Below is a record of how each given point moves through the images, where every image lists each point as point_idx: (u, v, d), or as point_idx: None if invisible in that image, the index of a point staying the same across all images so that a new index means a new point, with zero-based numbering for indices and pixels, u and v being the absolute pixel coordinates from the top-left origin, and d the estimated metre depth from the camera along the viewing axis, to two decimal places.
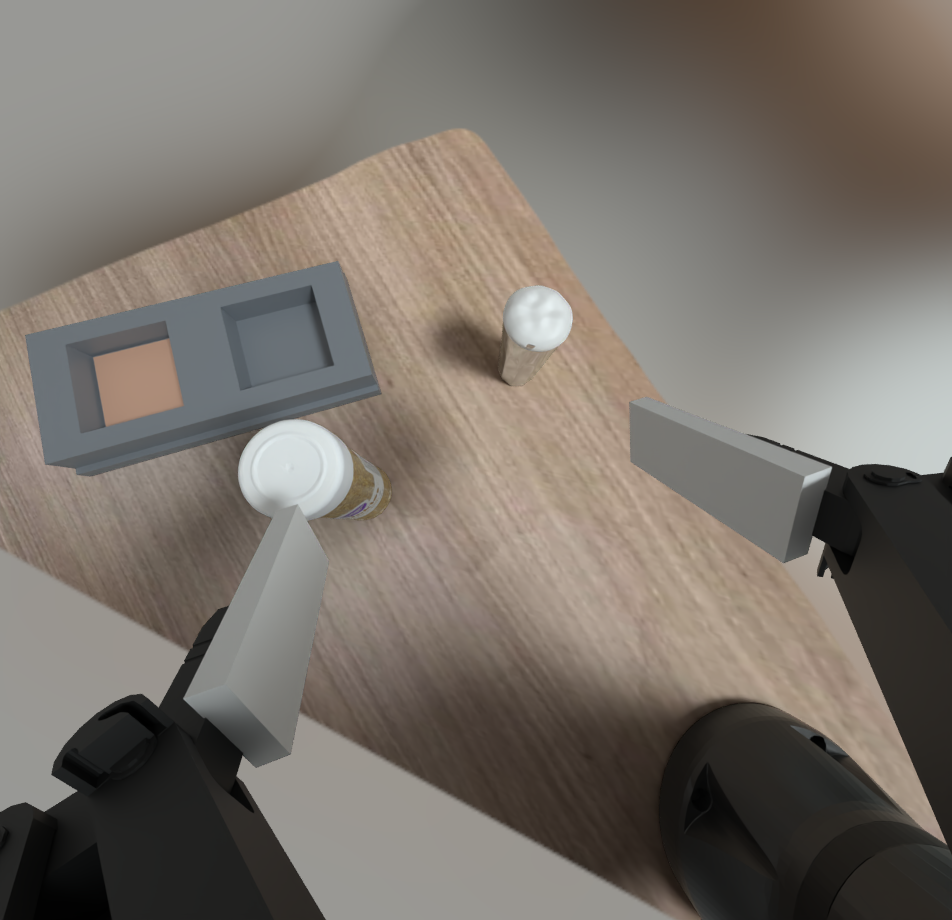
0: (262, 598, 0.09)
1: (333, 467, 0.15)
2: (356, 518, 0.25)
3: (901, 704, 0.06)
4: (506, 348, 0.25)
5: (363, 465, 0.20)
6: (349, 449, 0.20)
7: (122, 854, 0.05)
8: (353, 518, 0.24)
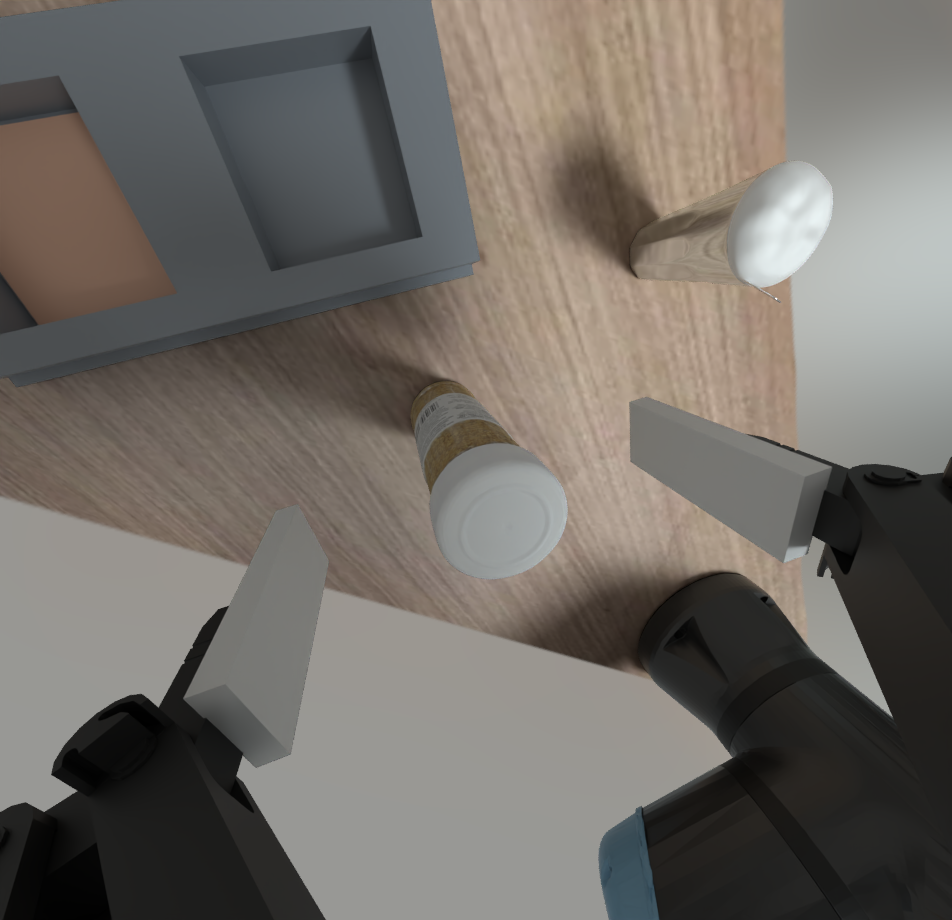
0: (262, 598, 0.09)
1: (559, 523, 0.12)
2: None
3: (901, 704, 0.06)
4: (695, 257, 0.17)
5: None
6: (502, 429, 0.15)
7: (122, 854, 0.05)
8: None
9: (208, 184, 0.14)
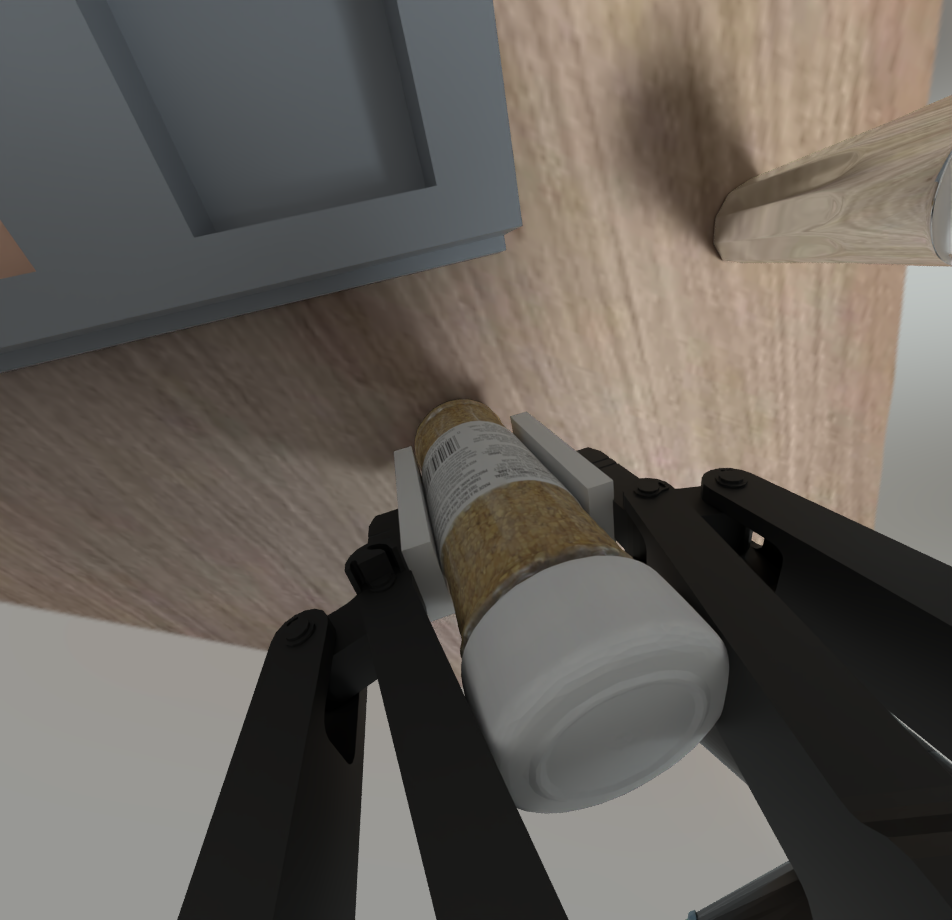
0: (421, 500, 0.11)
1: (715, 716, 0.06)
2: None
3: None
4: (853, 221, 0.11)
5: None
6: (569, 495, 0.09)
7: (379, 638, 0.07)
8: None
9: (69, 79, 0.08)
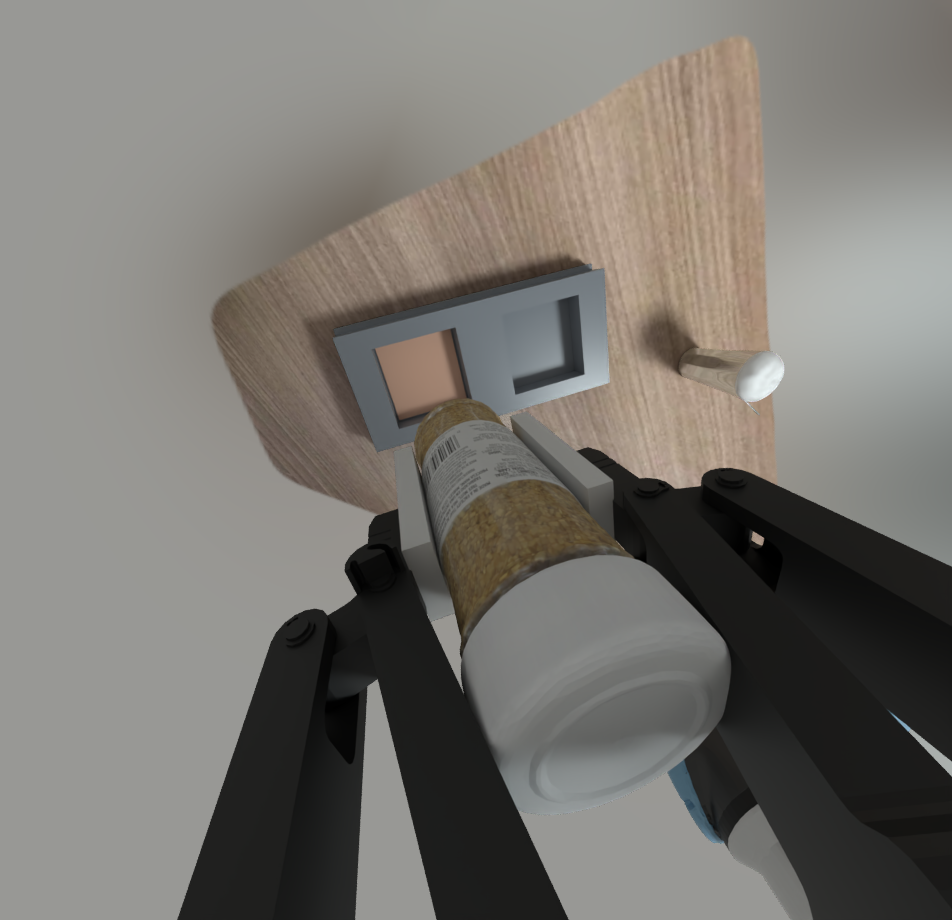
0: (421, 500, 0.11)
1: (717, 717, 0.06)
2: None
3: None
4: (719, 383, 0.34)
5: None
6: (569, 495, 0.09)
7: (379, 638, 0.07)
8: None
9: (499, 361, 0.31)
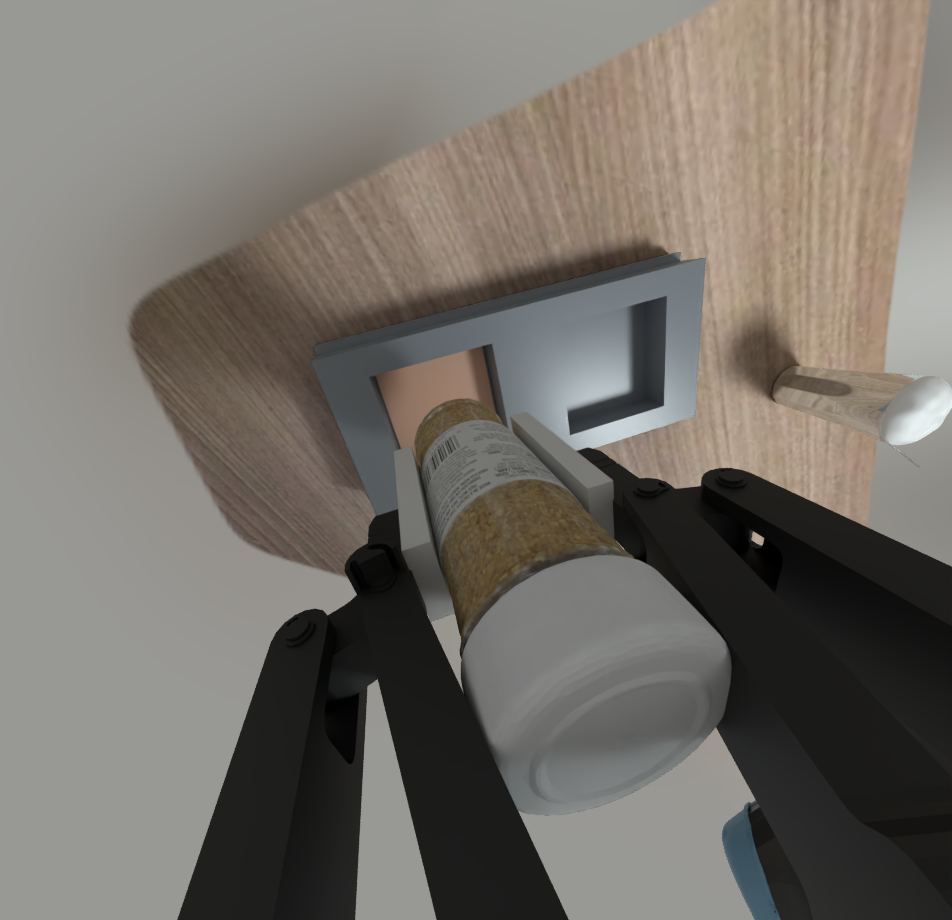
0: (421, 500, 0.11)
1: (717, 717, 0.06)
2: None
3: None
4: (847, 417, 0.25)
5: None
6: (569, 494, 0.09)
7: (379, 638, 0.07)
8: None
9: (551, 390, 0.22)
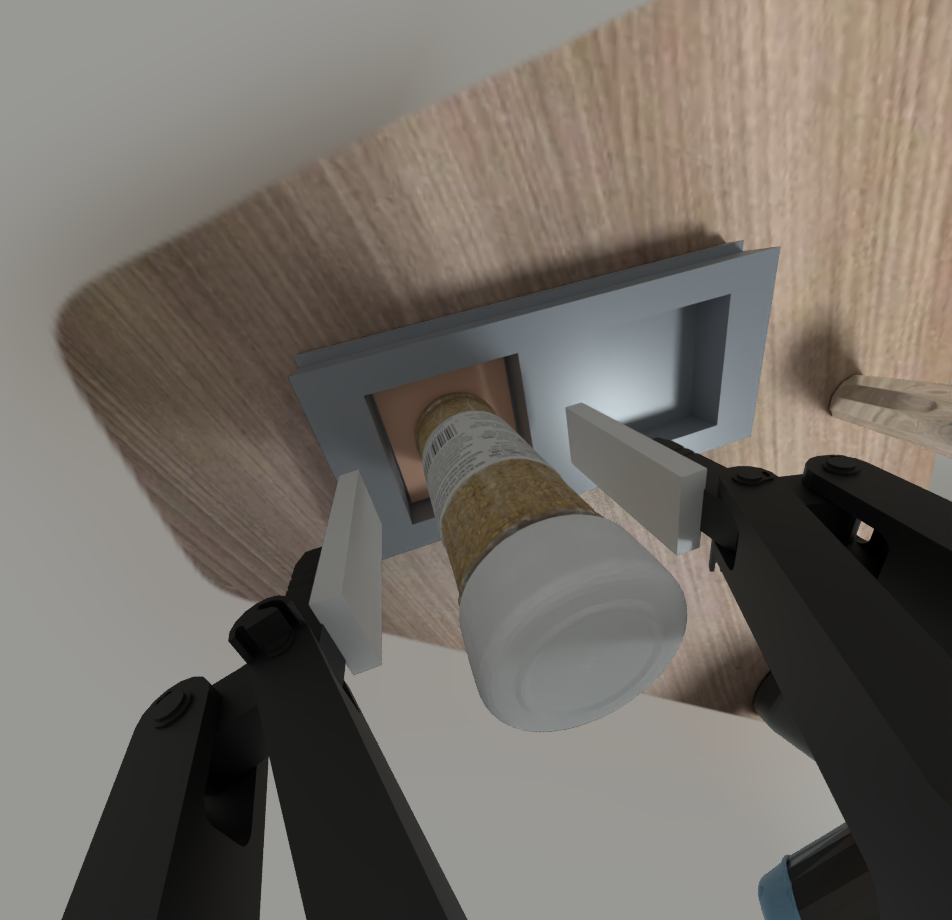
0: (350, 538, 0.10)
1: (673, 647, 0.07)
2: None
3: (792, 693, 0.06)
4: (932, 438, 0.21)
5: None
6: (555, 473, 0.11)
7: (274, 712, 0.06)
8: None
9: None
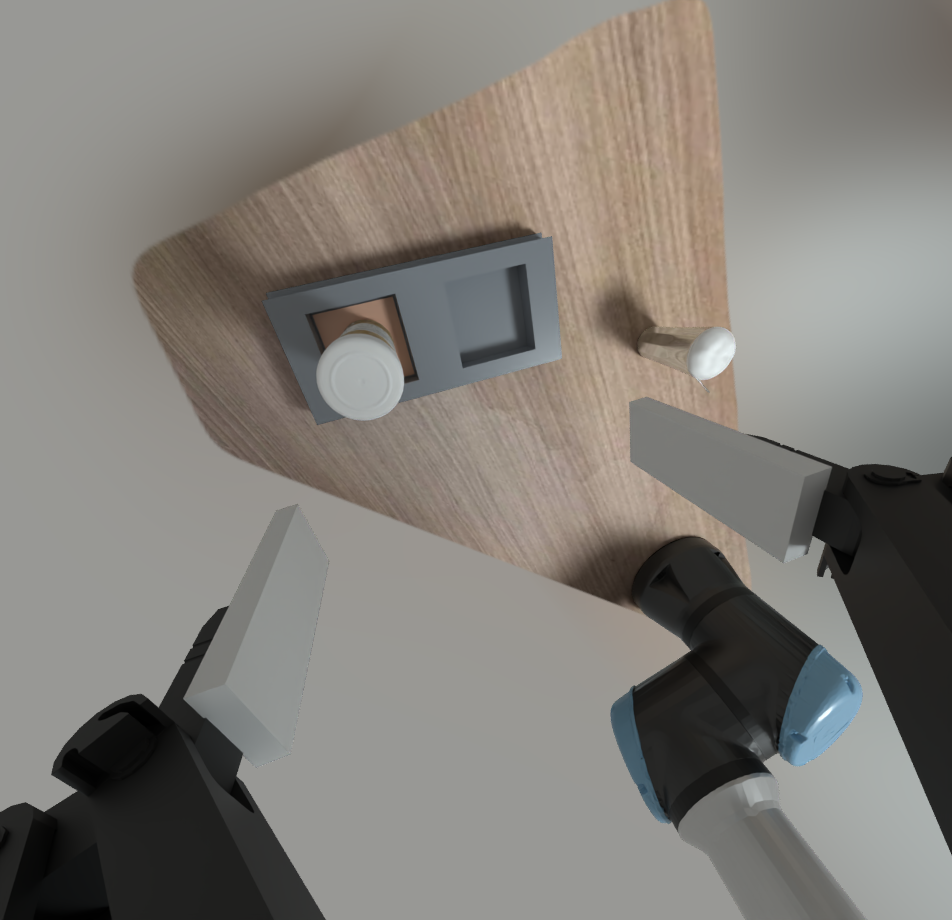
0: (262, 598, 0.09)
1: (397, 383, 0.19)
2: None
3: (901, 704, 0.06)
4: (672, 360, 0.33)
5: (395, 354, 0.23)
6: (382, 338, 0.23)
7: (123, 854, 0.05)
8: None
9: (444, 332, 0.30)
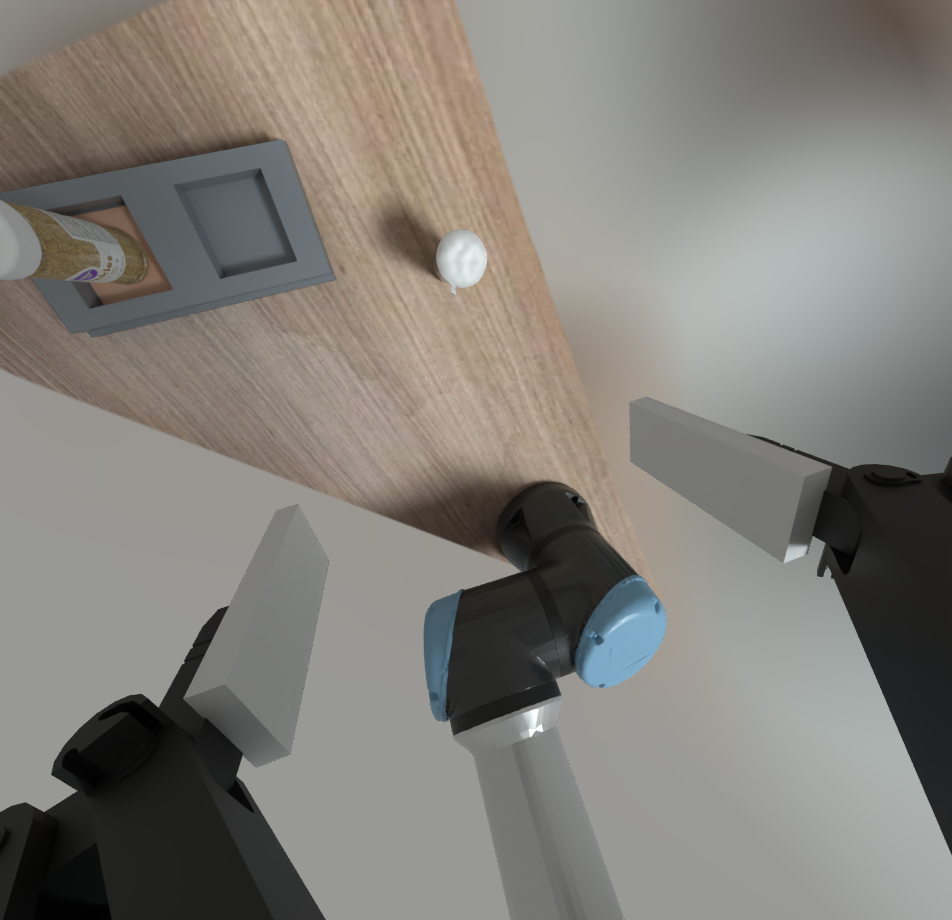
0: (262, 598, 0.09)
1: (3, 237, 0.20)
2: (105, 282, 0.29)
3: (901, 704, 0.06)
4: (438, 271, 0.33)
5: (68, 233, 0.24)
6: (46, 215, 0.23)
7: (122, 854, 0.05)
8: (99, 282, 0.29)
9: (187, 238, 0.30)
